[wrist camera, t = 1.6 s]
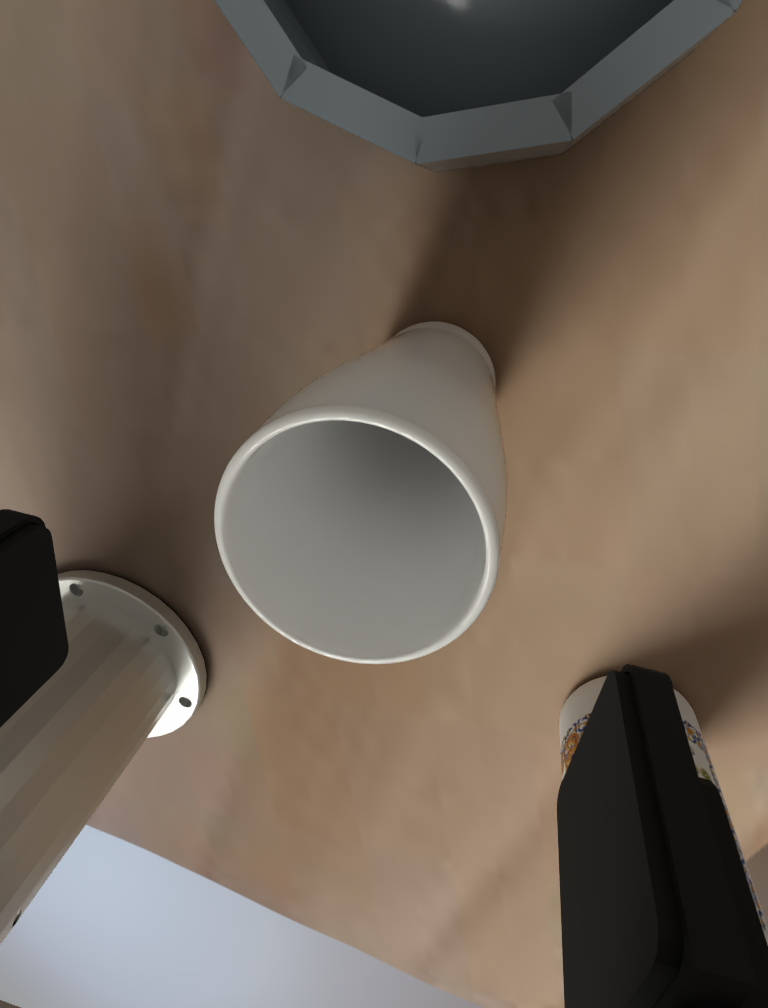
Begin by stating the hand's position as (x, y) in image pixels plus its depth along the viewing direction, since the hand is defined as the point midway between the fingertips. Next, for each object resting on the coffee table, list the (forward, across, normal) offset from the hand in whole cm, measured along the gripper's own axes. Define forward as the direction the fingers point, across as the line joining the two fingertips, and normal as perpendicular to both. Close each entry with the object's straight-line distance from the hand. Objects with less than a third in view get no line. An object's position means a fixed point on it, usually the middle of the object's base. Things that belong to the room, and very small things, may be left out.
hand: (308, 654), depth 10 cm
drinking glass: (+19, 0, +1) cm, 19 cm away
